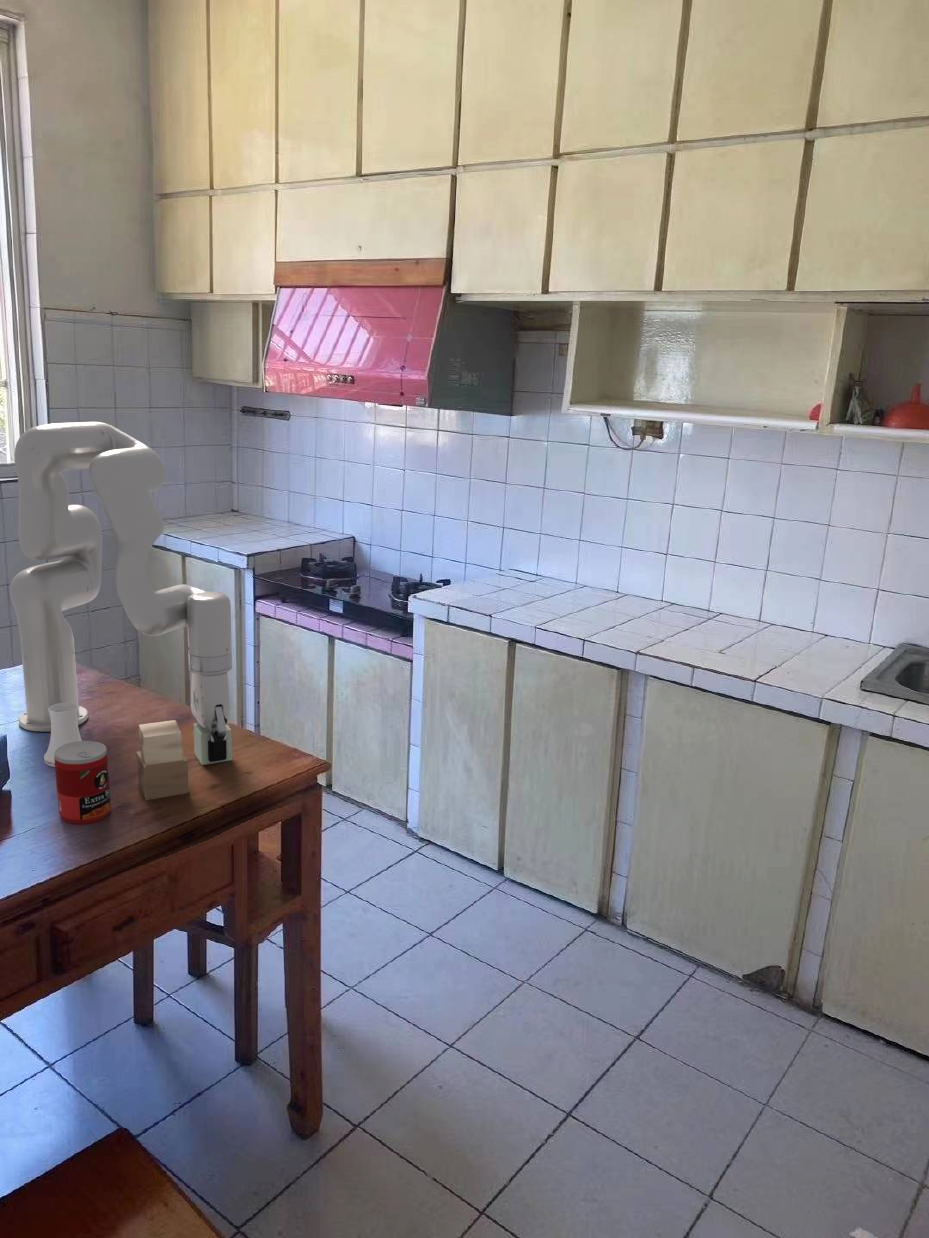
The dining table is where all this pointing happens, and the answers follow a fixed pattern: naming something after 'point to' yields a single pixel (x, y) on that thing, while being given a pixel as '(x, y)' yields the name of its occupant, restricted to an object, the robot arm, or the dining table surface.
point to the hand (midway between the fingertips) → (213, 752)
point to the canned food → (82, 781)
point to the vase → (62, 728)
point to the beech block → (160, 742)
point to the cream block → (162, 778)
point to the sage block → (202, 743)
